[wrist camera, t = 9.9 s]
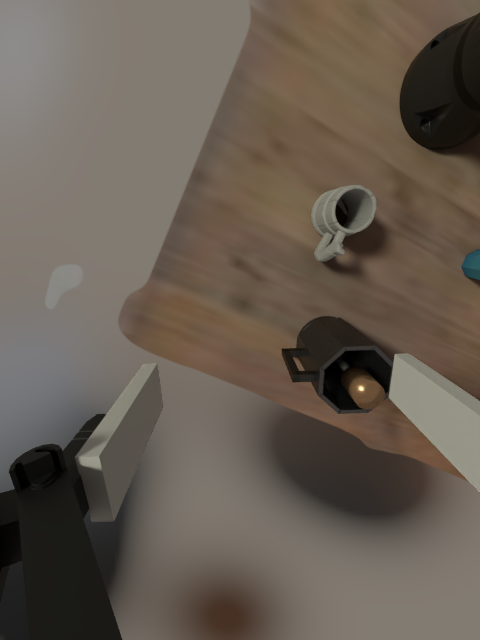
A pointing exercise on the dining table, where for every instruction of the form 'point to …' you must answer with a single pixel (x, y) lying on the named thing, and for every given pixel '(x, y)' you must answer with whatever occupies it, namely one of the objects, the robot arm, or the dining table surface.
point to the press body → (325, 347)
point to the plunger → (361, 385)
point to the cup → (472, 265)
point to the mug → (326, 223)
